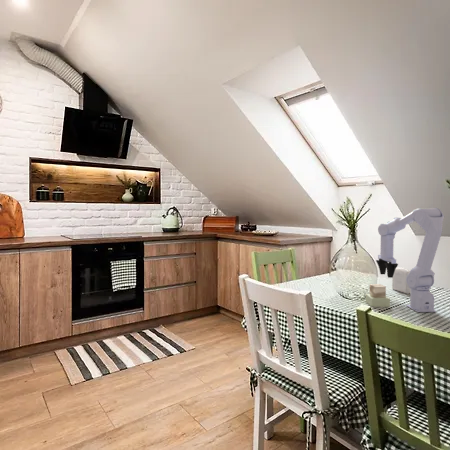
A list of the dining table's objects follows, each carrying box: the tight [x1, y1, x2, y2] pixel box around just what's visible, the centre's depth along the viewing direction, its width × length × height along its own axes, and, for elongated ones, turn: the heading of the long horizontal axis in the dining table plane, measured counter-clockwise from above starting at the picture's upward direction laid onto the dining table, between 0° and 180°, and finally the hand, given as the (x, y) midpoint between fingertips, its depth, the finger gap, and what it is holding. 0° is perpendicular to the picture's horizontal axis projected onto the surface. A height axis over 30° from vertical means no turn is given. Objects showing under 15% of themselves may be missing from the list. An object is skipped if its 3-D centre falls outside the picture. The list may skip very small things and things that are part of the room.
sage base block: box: [365, 293, 391, 308], centre depth 160 cm, size 8×8×4 cm
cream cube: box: [369, 283, 387, 298], centre depth 160 cm, size 5×5×5 cm
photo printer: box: [391, 266, 411, 294], centre depth 182 cm, size 10×4×12 cm, turn 17°
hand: (386, 275), depth 172 cm, fingers open, 7 cm apart
